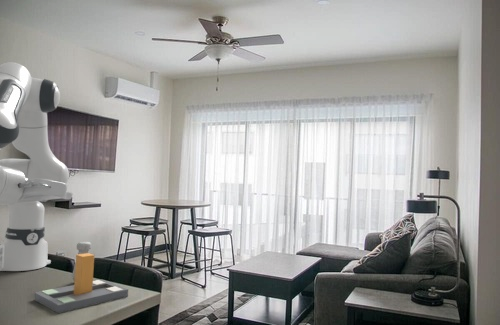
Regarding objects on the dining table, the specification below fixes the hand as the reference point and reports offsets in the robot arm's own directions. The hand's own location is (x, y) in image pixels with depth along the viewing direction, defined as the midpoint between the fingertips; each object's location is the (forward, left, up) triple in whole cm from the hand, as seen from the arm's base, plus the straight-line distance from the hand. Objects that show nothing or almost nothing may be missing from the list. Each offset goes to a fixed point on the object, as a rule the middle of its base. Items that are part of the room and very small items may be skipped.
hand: (58, 197), depth 102 cm
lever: (0, +8, -27) cm, 29 cm away
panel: (0, +8, -28) cm, 30 cm away
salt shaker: (-14, +15, -29) cm, 35 cm away
